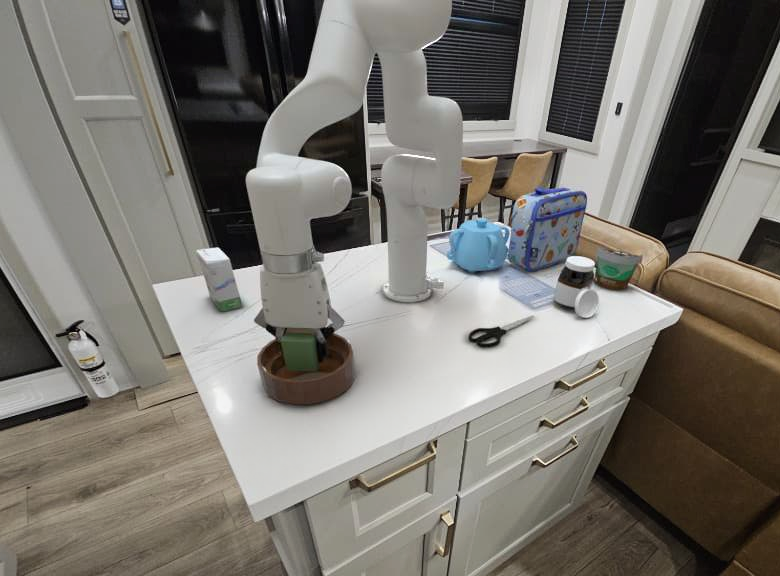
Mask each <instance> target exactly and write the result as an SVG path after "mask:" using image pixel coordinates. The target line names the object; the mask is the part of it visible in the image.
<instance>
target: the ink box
mask: <svg viewBox="0 0 780 576" xmlns="http://www.w3.org/2000/svg"><path fill="white" fill-rule="evenodd" d="M195 252H196V256H197V260H198V262H199V265H200V268H201V271H202V275H203V278H204V281H205V285H206V288H207V291H208V294H209V297H210V299H211V300H212V302H213V303H214V304H215V306H216V307H217V308H218V309H219V311H220V312H223V313H225V312H228V311H232V310H236V309H239V308H243V307H244V306H243V302H242V299H241V296H240V292H239V289H238V285H237V280H236V277H235V274H234V270H233V266H232V263H231V259H230V258H229V257H228V256H227V254H225V252H224V251H222V250H221V248H220V247H209V248H201V249H197V250H196V251H195Z"/></svg>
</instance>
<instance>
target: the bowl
mask: <svg viewBox="0 0 780 576" xmlns="http://www.w3.org/2000/svg"><path fill="white" fill-rule="evenodd" d="M327 344H328V355H327V356H325V358H324V360H323V363H322V362H320V363H319V366H318V368H317V371H288V370H287V368H286V363H285V359H284V354H282V353H281V348H280V343H279V342H278V341H277V340H276V339H275V338H274V339H272V340H270V341H269V342H268V343H267V344H266V345H263V347H262V348H261V350H260V351H259V353H258V354H257V358H256V360H257V361H256V365H257V368H258V372H259V375H260V379H261V383H262V387H263V388H264V391H266V393H267V395H269V396H270V397H272V398H273V399H274V400H277V401H279V402H283V403H287V404H291V405H310V404H316V403H322V402H325V401H327V400H330V399H333V398H336V397H338V396H339V395H340V394H342V393H343V392H345V391H346V390H348V388H349V387H350V386H351V385H352V383H353V382H354V379H355V377H356V376H355V375H356V368H355V367H356V365H355V356H354V355H355V354H354V350H353V346H352V344H351V342H349V340H347V338H345V337H344V336H342V335H340V334H338V333H335V332H334V333H333V334H332V335H331V336H330V337H329V338H328V339H327Z"/></svg>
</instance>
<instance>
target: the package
mask: <svg viewBox="0 0 780 576" xmlns="http://www.w3.org/2000/svg"><path fill="white" fill-rule="evenodd" d="M316 343H317V337H316V335H315V333H314V331H313V329H312V328H287V330H286V332H285V334H284V336H283V338H282V339H281V345H282V349H283V354H284V359H285V363H286V368H287V370H288V371H317V368H318V366H319V363H320V362H319V361H318V355H317V349H316Z"/></svg>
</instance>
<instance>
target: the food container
mask: <svg viewBox="0 0 780 576" xmlns="http://www.w3.org/2000/svg"><path fill="white" fill-rule="evenodd" d="M596 255H597V261H596V267H595V272H594V279H593V283H594V284H595V285H597V286H599V288H602V289H605V290H609V291H623V290H626V289H627V288H628V286H629V284H630V282H631V279H632V277H633V276H634V273H635V271H636V269H637V267H638V265H640V264H641V263H642V262H643V258H644V255H643V252H642V253H641V254H640V255H637V254H631V253H629V252H625V251H622V250H610V249H605V248H602V246H601V245H599V247H598V248H597V250H596Z"/></svg>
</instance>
